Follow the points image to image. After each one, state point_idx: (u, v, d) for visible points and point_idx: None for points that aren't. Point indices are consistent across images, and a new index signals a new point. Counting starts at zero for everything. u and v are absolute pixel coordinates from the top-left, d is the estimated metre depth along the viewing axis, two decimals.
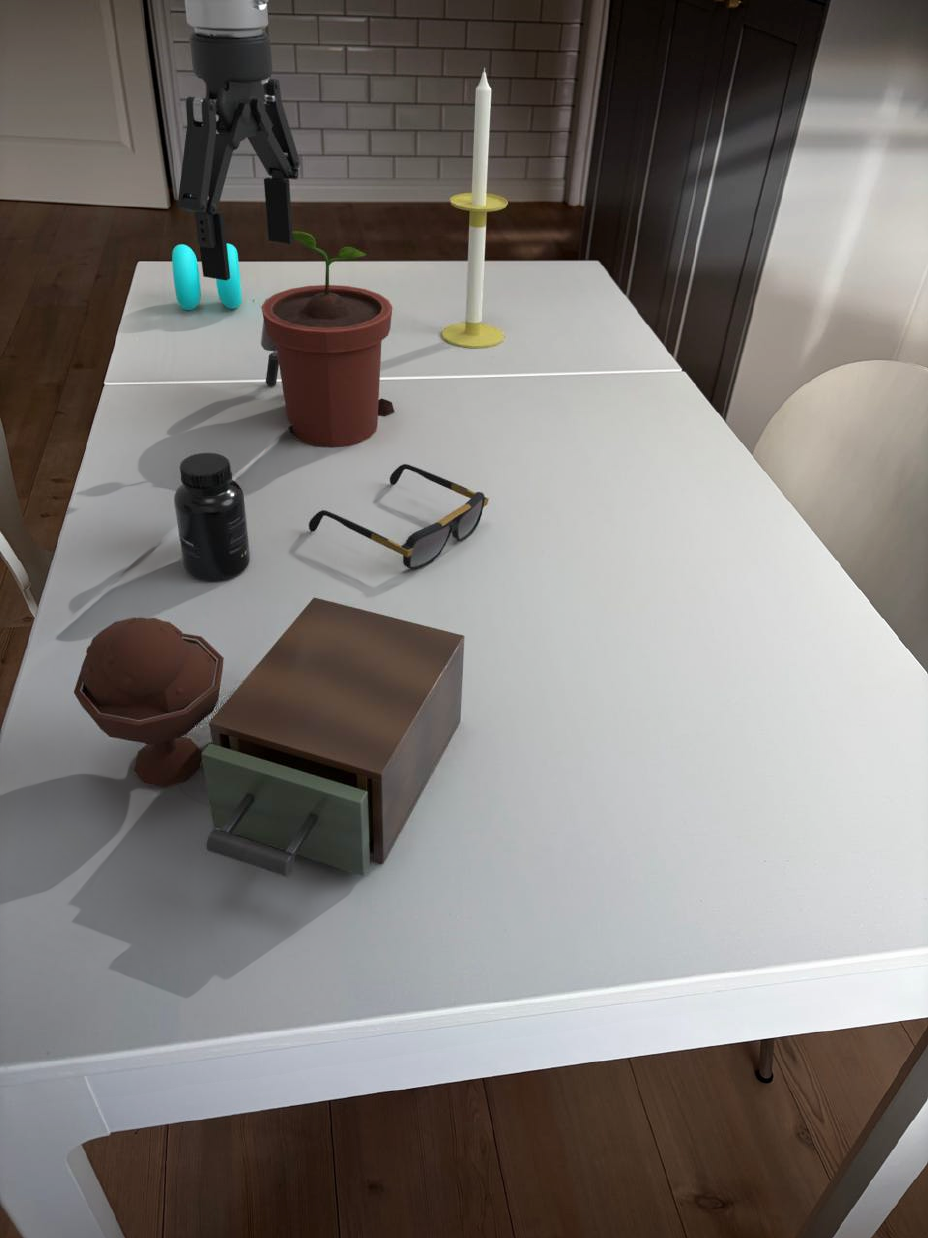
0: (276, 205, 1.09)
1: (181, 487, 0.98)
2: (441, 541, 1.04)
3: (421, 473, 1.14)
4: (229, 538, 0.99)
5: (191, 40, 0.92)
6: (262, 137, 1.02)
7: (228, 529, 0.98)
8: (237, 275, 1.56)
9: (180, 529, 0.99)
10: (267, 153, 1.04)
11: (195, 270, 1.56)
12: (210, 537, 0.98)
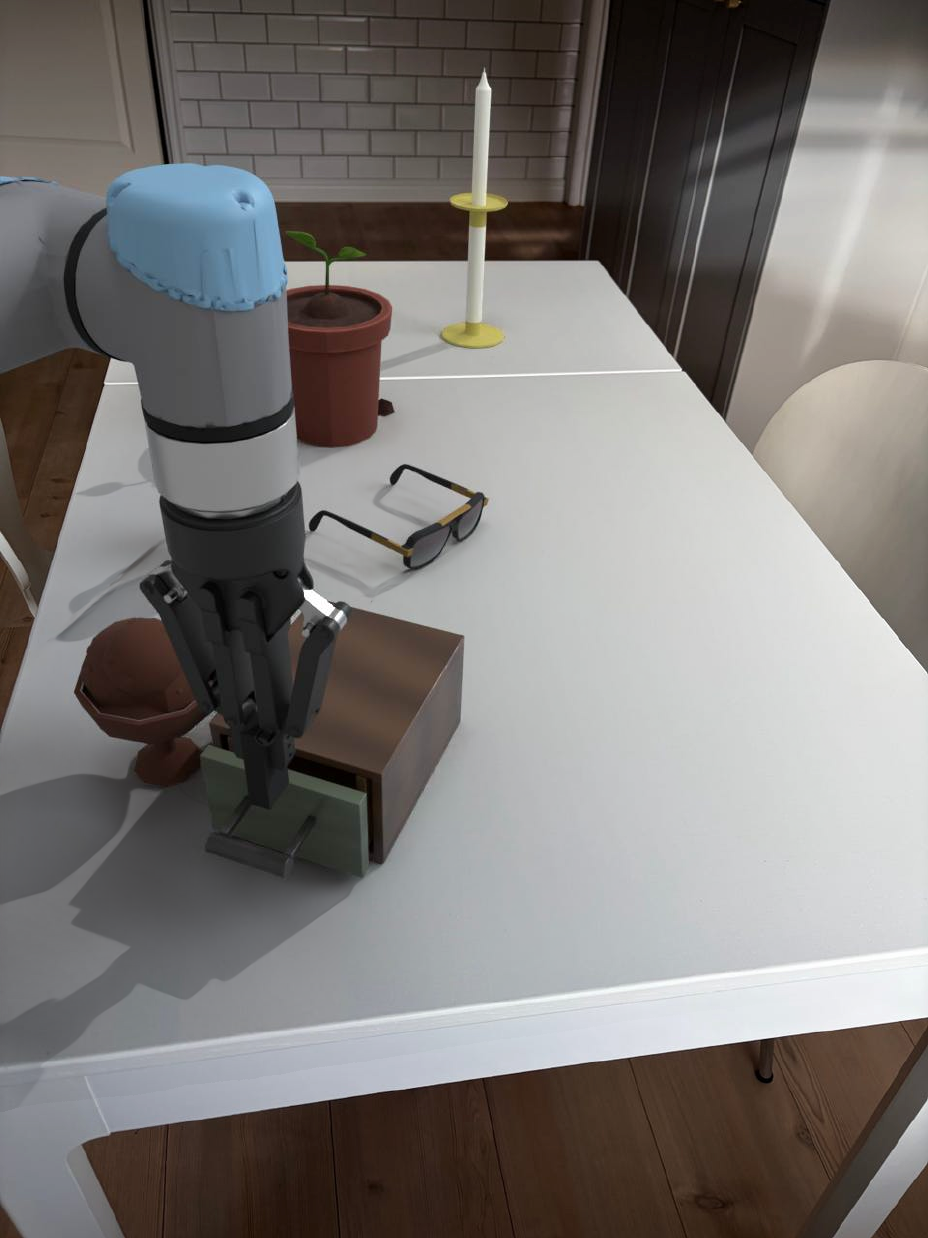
0: None
1: None
2: (441, 541, 1.04)
3: (421, 473, 1.14)
4: None
5: (256, 529, 0.51)
6: None
7: None
8: None
9: None
10: (246, 665, 0.61)
11: None
12: None
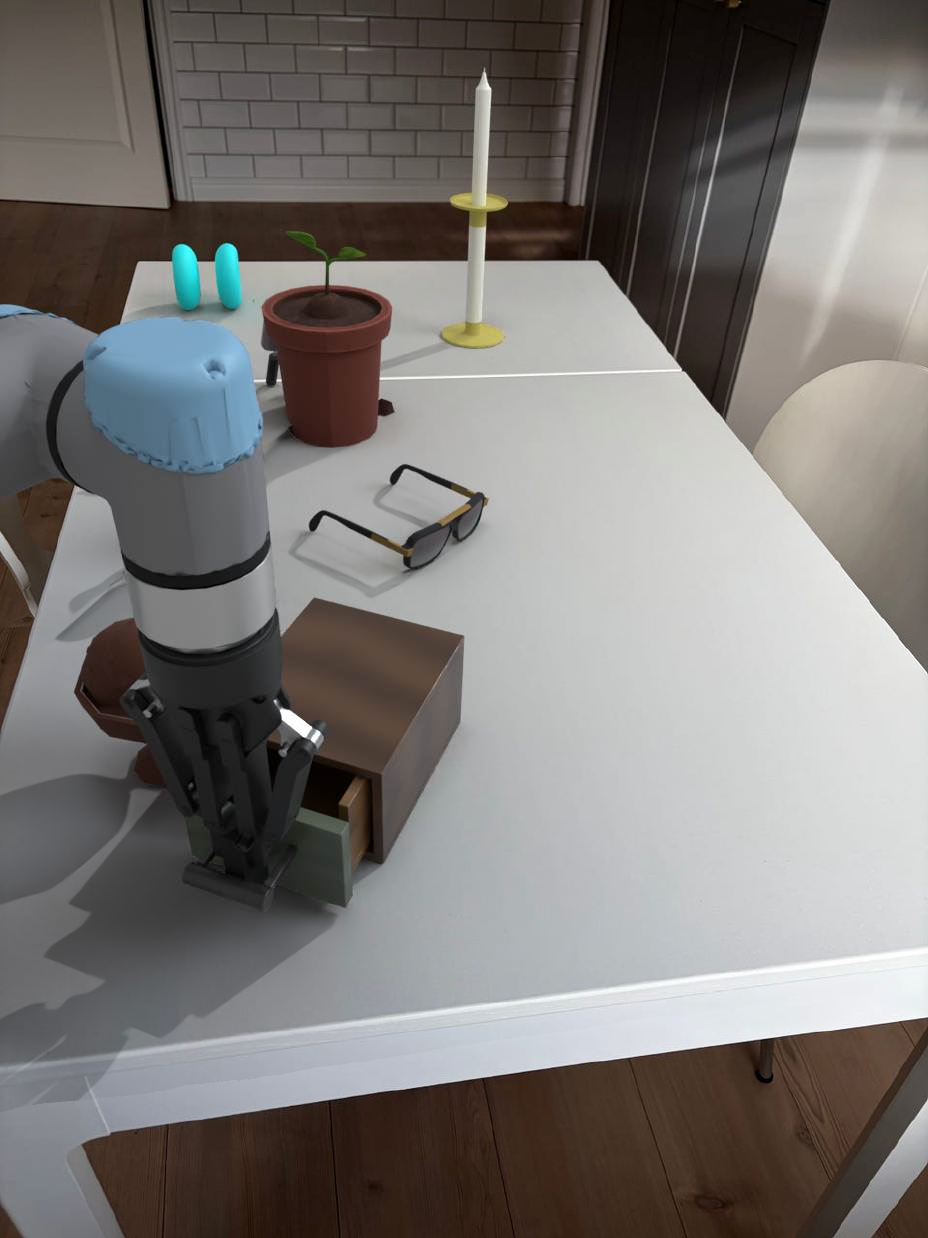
0: None
1: None
2: (441, 541, 1.04)
3: (421, 473, 1.14)
4: None
5: (233, 663, 0.52)
6: None
7: None
8: (237, 275, 1.56)
9: None
10: (225, 773, 0.62)
11: (195, 270, 1.56)
12: None
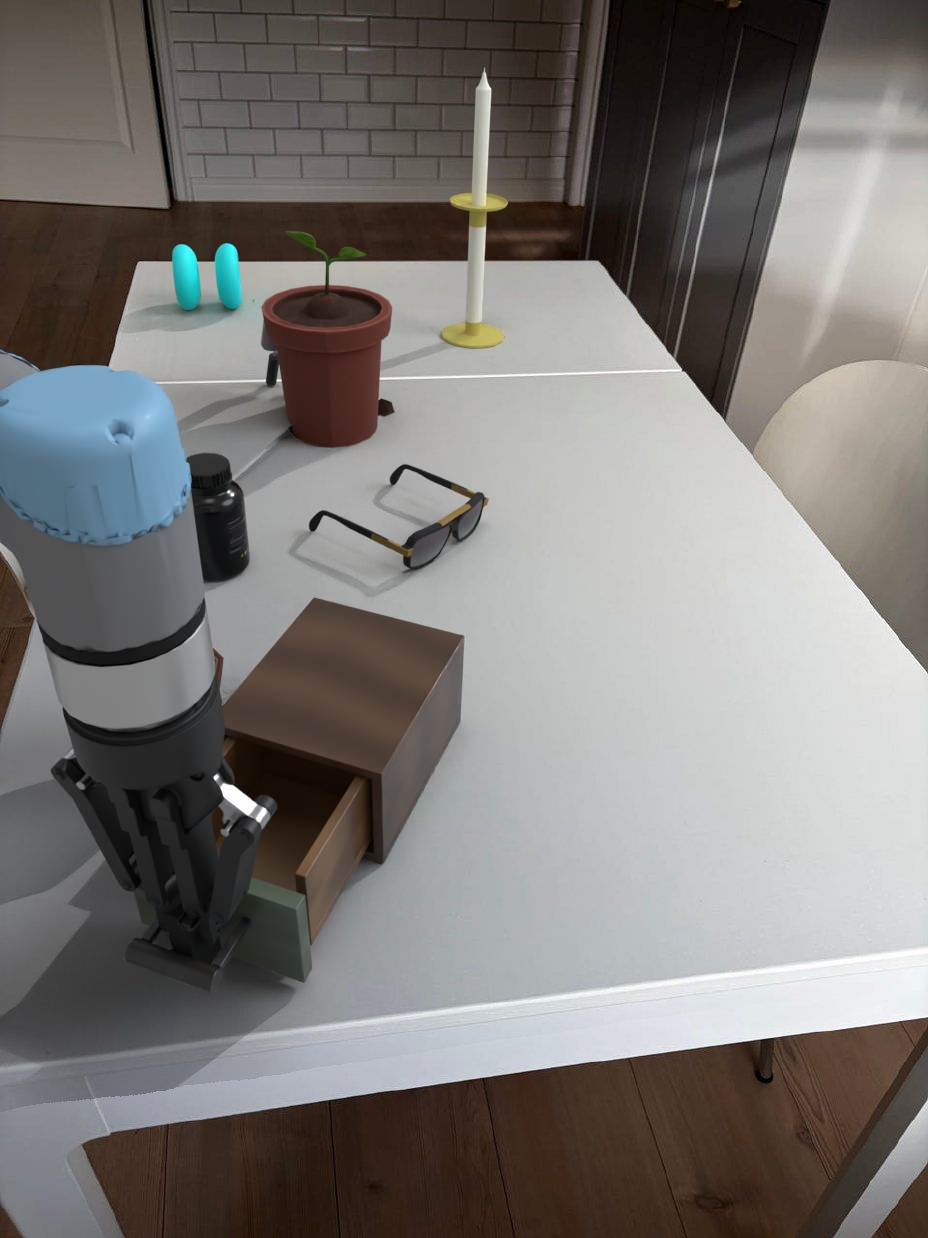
0: None
1: None
2: (441, 541, 1.04)
3: (421, 473, 1.14)
4: (229, 538, 0.99)
5: (164, 742, 0.47)
6: None
7: (228, 529, 0.98)
8: (237, 275, 1.56)
9: None
10: (168, 846, 0.57)
11: (195, 270, 1.56)
12: (210, 537, 0.98)
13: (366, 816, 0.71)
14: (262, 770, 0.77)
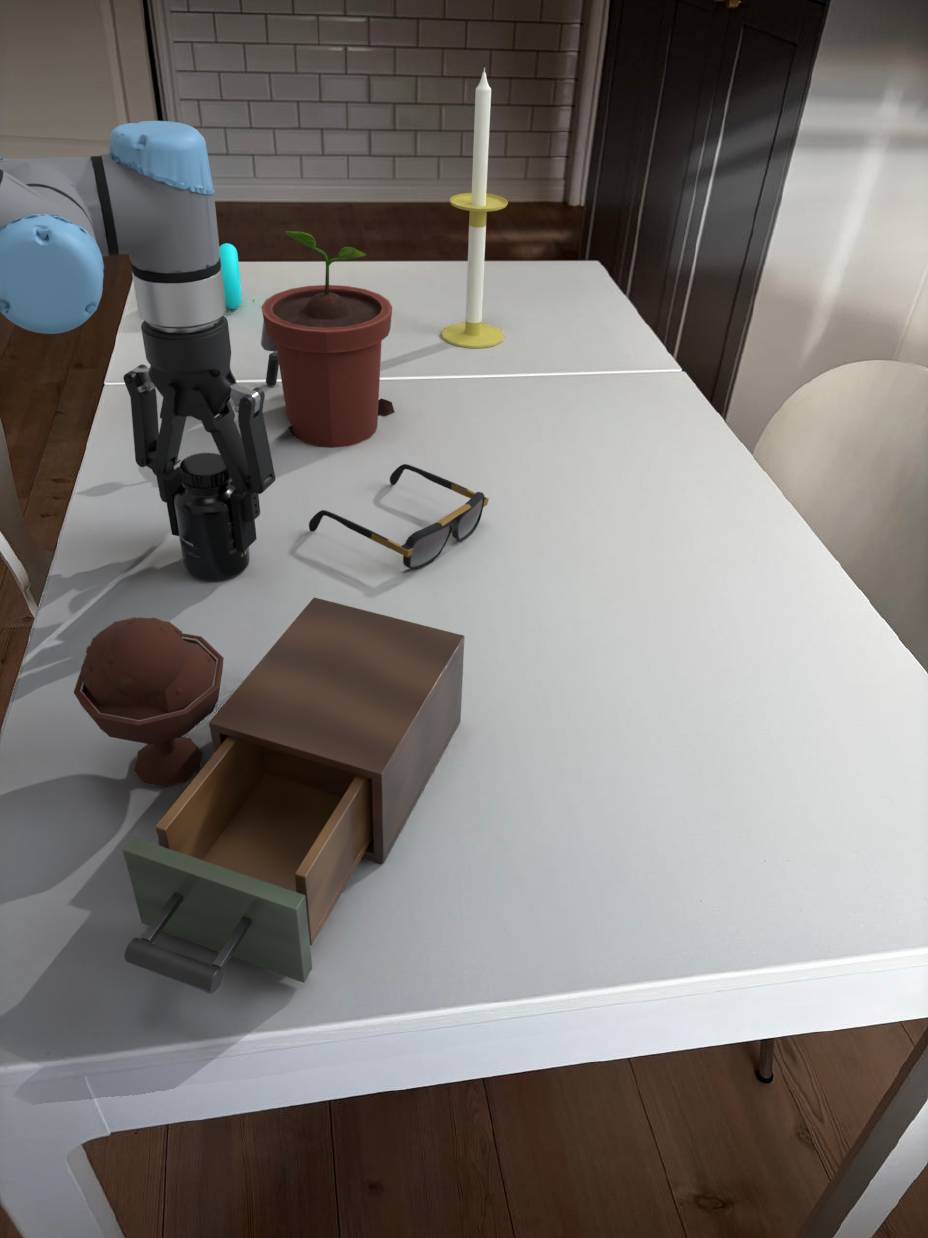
0: None
1: (181, 487, 0.98)
2: (441, 541, 1.04)
3: (421, 473, 1.14)
4: (229, 538, 0.99)
5: (198, 340, 0.86)
6: (184, 417, 0.95)
7: (228, 529, 0.98)
8: (237, 275, 1.56)
9: (180, 529, 0.99)
10: (177, 439, 0.96)
11: None
12: (209, 537, 0.98)
13: (365, 816, 0.71)
14: (262, 770, 0.77)
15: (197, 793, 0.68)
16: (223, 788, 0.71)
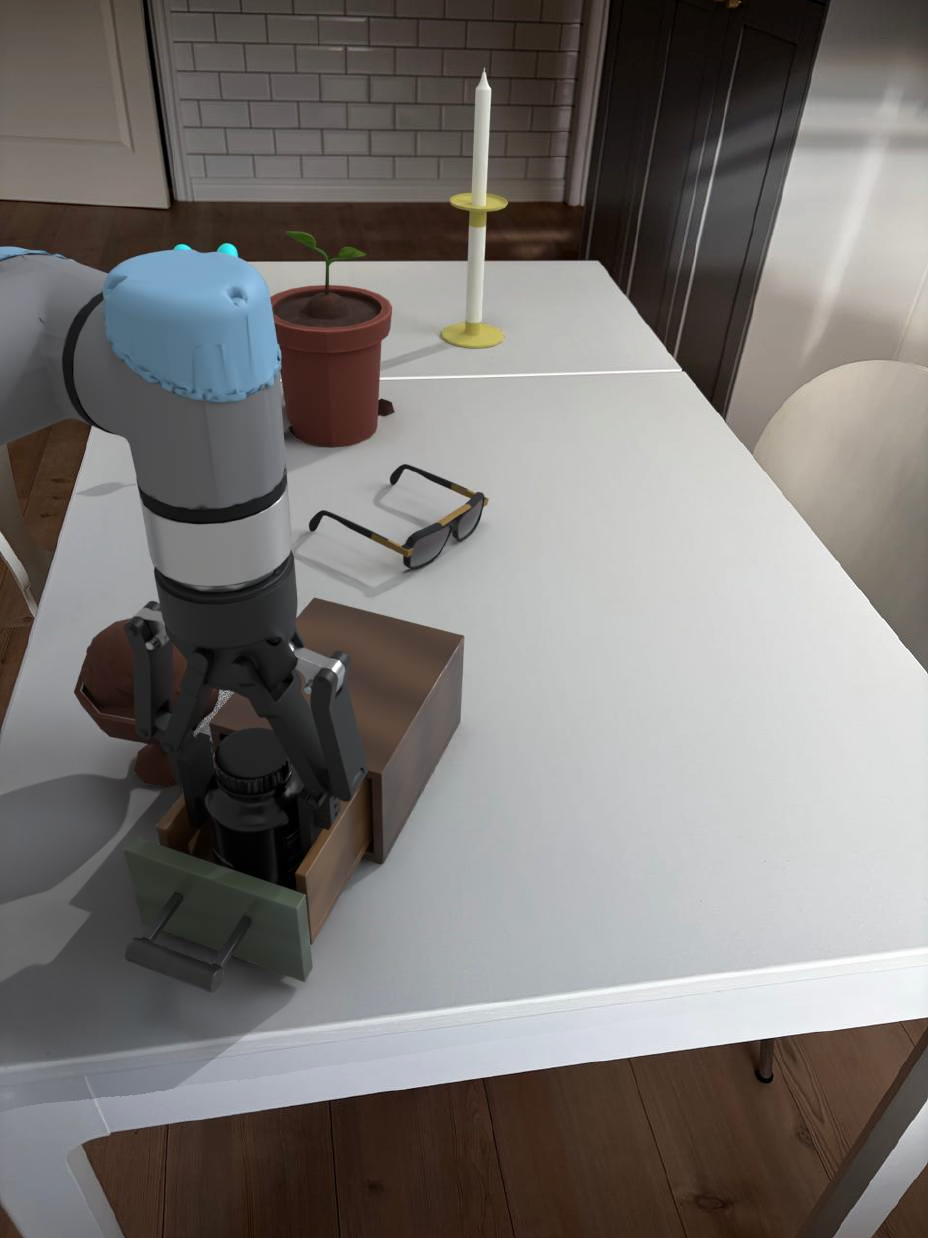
0: (203, 776, 0.66)
1: (215, 782, 0.64)
2: (441, 541, 1.04)
3: (421, 473, 1.14)
4: (288, 855, 0.65)
5: (249, 602, 0.52)
6: None
7: (287, 844, 0.65)
8: None
9: (213, 841, 0.65)
10: (202, 706, 0.62)
11: None
12: (259, 858, 0.64)
13: (366, 815, 0.71)
14: None
15: None
16: None
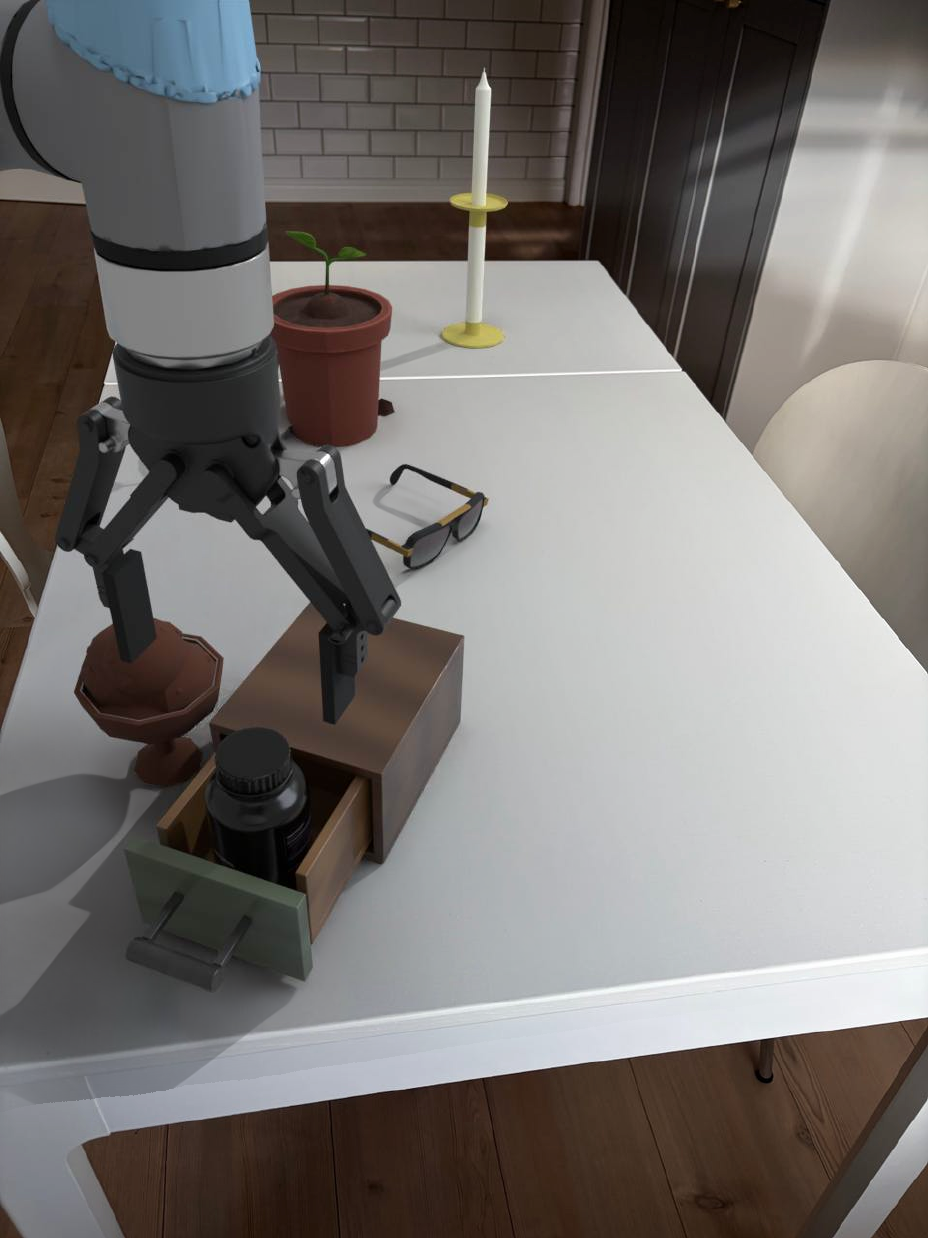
0: (134, 599, 0.58)
1: (216, 781, 0.64)
2: (441, 541, 1.04)
3: (421, 473, 1.14)
4: (288, 855, 0.65)
5: (223, 382, 0.44)
6: None
7: (287, 844, 0.65)
8: None
9: (214, 841, 0.65)
10: (144, 523, 0.55)
11: None
12: (259, 857, 0.64)
13: (366, 815, 0.71)
14: None
15: (197, 792, 0.68)
16: None
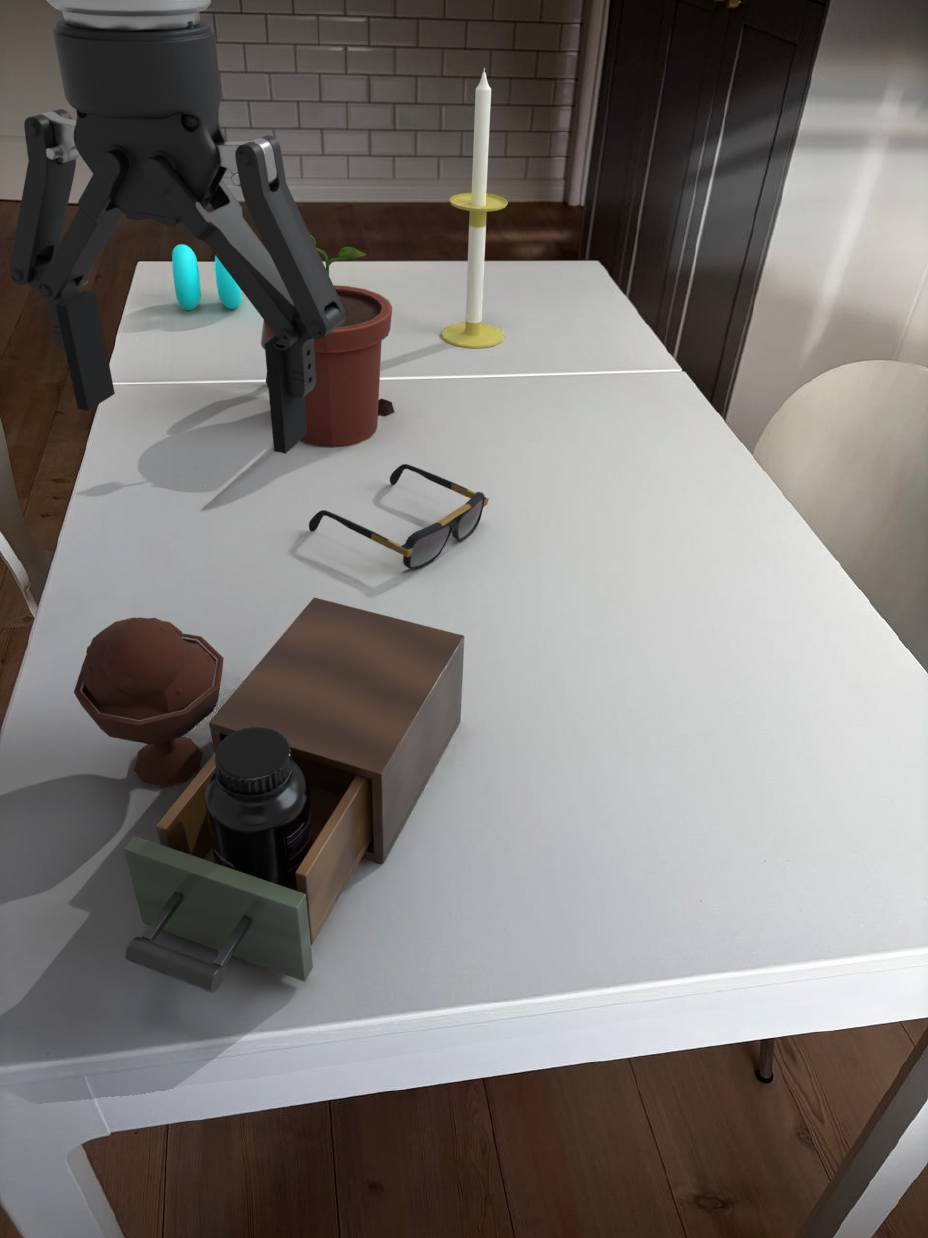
0: (89, 341, 0.59)
1: (216, 781, 0.64)
2: (441, 541, 1.04)
3: (421, 473, 1.14)
4: (288, 855, 0.65)
5: (158, 44, 0.45)
6: (119, 216, 0.55)
7: (287, 844, 0.65)
8: None
9: (214, 841, 0.65)
10: (95, 249, 0.56)
11: (195, 270, 1.56)
12: (259, 858, 0.64)
13: (366, 815, 0.71)
14: None
15: (197, 792, 0.68)
16: None
